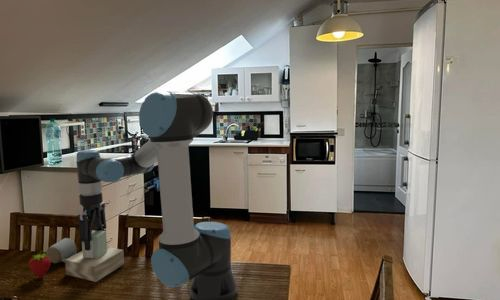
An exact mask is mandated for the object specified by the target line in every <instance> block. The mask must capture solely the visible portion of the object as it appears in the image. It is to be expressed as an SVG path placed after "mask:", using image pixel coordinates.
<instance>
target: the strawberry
mask: <svg viewBox="0 0 500 300" xmlns="http://www.w3.org/2000/svg"><path fill="white" fill-rule="evenodd" d="M41 252H42V251H40V252H39V253H38V254H36V255H35V254H34V255H33V257H32V258H31V259H30V260H29V262H28V267H29V269H30V271H32V273H33V274H34V275H35V276H37V277H38V278H41V279H43V277H45V275H46V274H47V273H48V271H49V269H50V268H51V263H52V262H51V260H50V258H48V257H47V254H48V253H47V252H46V253H42V254H41Z"/></svg>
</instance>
